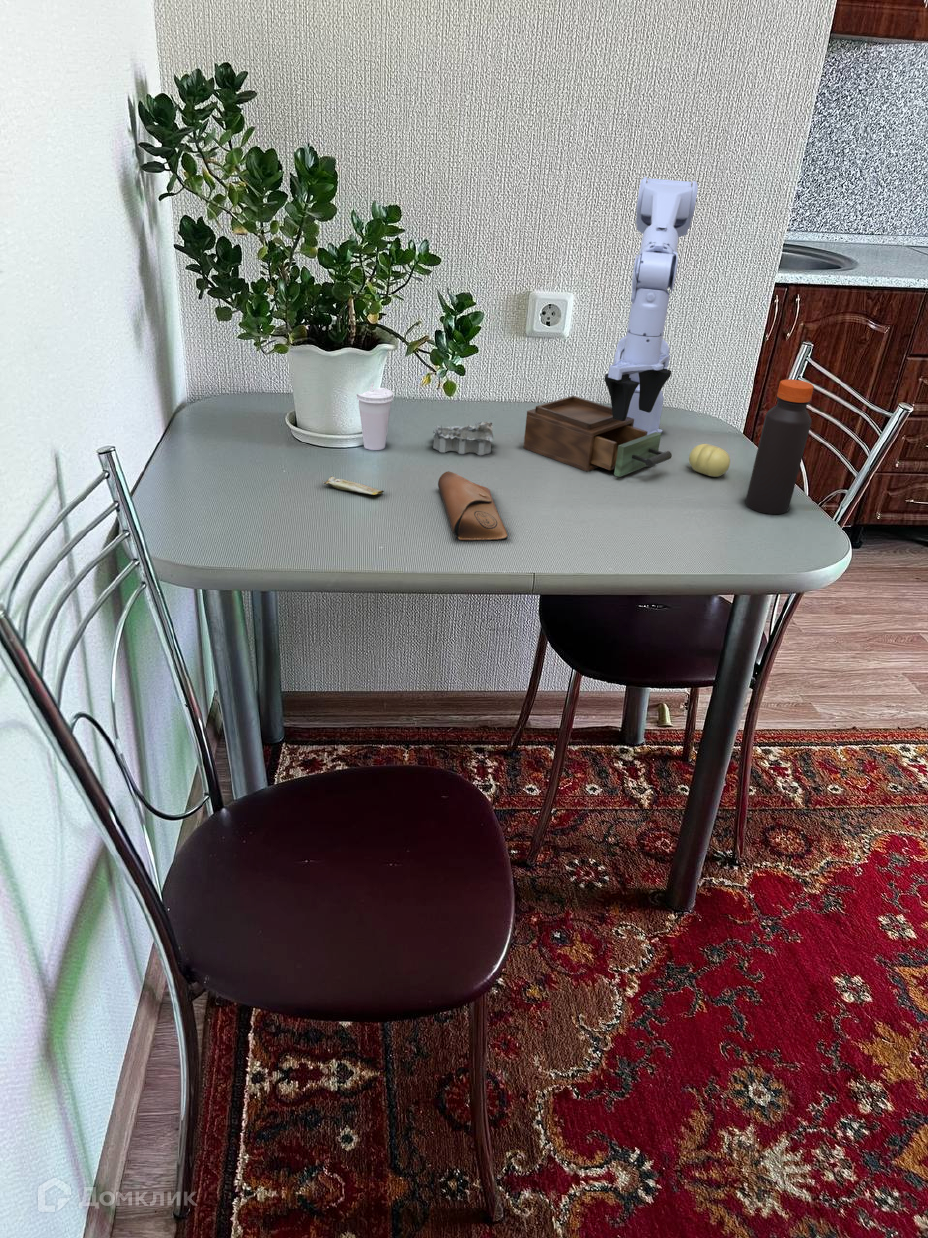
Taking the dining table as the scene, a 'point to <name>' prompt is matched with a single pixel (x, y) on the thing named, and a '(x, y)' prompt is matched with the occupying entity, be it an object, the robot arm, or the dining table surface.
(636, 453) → the drawer
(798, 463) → the bottle
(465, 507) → the sunglasses case
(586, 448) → the cabinet
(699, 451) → the pale yellow lobed ovoid
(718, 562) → the dining table surface
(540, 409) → the brown wooden tray
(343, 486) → the snack bar
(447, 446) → the egg carton
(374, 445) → the smoothie
